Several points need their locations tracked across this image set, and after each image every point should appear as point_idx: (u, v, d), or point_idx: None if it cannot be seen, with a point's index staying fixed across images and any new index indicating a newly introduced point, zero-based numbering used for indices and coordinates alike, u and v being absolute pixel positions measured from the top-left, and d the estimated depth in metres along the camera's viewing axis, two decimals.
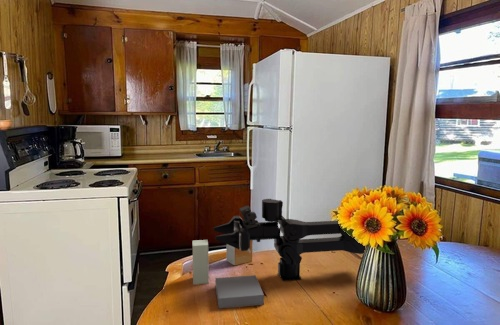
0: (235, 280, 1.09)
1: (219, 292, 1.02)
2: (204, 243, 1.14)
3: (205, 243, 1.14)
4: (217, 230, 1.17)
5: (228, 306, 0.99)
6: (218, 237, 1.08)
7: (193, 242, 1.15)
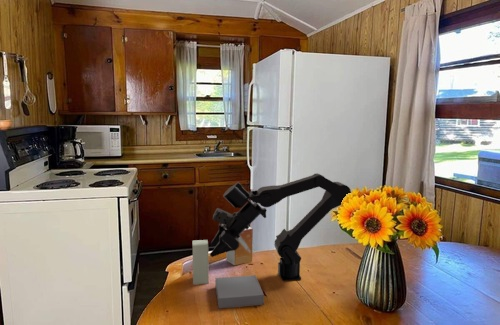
0: (235, 280, 1.09)
1: (219, 292, 1.02)
2: (204, 243, 1.14)
3: (205, 243, 1.14)
4: (214, 244, 1.20)
5: (228, 306, 0.99)
6: (212, 253, 1.10)
7: (193, 242, 1.15)
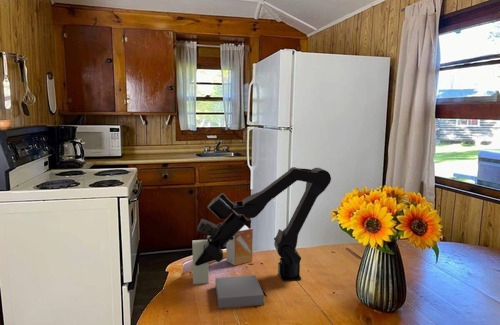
0: (235, 280, 1.09)
1: (219, 292, 1.02)
2: (204, 243, 1.14)
3: (205, 243, 1.14)
4: None
5: (228, 306, 0.99)
6: (197, 263, 1.12)
7: (193, 242, 1.15)
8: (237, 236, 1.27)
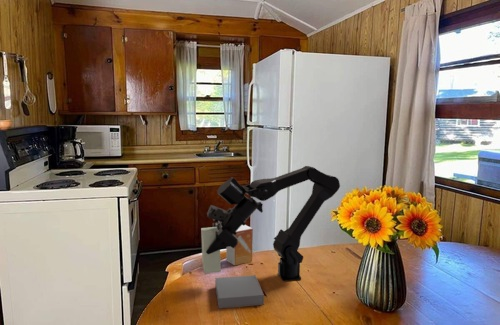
0: (235, 280, 1.09)
1: (219, 292, 1.02)
2: (214, 230, 1.09)
3: (215, 230, 1.09)
4: None
5: (228, 306, 0.99)
6: (208, 251, 1.06)
7: (202, 229, 1.09)
8: (237, 236, 1.27)
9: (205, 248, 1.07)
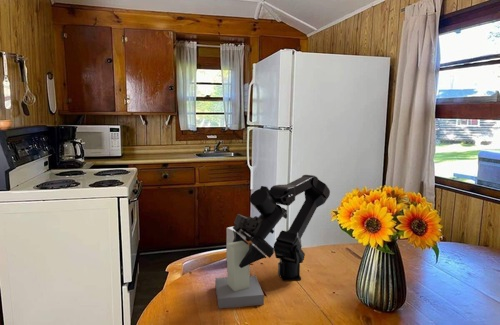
0: None
1: (219, 292, 1.02)
2: (243, 244, 1.04)
3: (244, 244, 1.04)
4: None
5: (228, 306, 0.99)
6: (242, 264, 1.00)
7: (230, 244, 1.04)
8: None
9: (235, 264, 1.02)
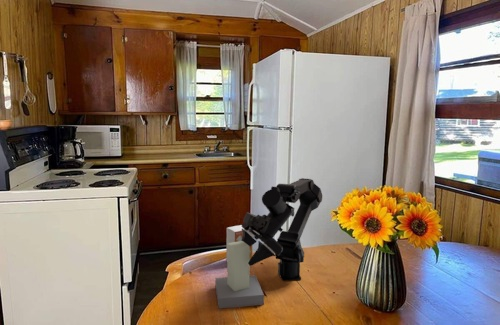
0: None
1: (219, 292, 1.02)
2: (243, 244, 1.04)
3: (244, 244, 1.04)
4: None
5: (228, 306, 0.99)
6: (251, 262, 1.01)
7: (230, 244, 1.04)
8: (237, 236, 1.27)
9: (235, 264, 1.02)
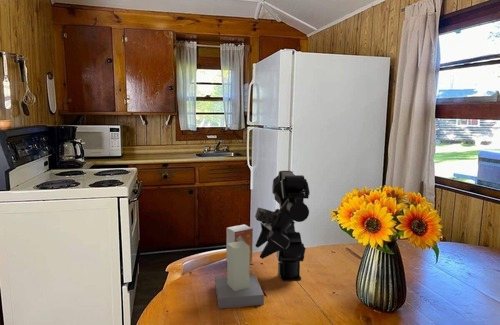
0: None
1: (219, 292, 1.02)
2: (243, 244, 1.04)
3: (244, 244, 1.04)
4: (259, 244, 1.15)
5: (228, 306, 0.99)
6: (262, 255, 1.06)
7: (230, 244, 1.04)
8: (237, 236, 1.27)
9: (235, 264, 1.02)
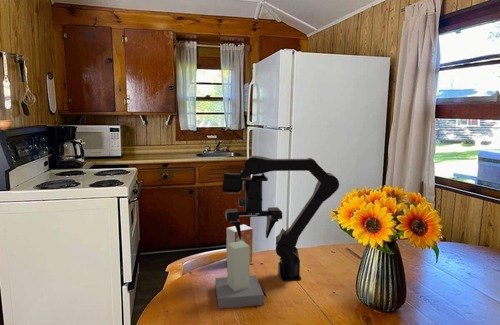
0: None
1: (219, 292, 1.02)
2: (243, 244, 1.04)
3: (244, 244, 1.04)
4: (266, 234, 1.19)
5: (228, 306, 0.99)
6: None
7: (230, 244, 1.04)
8: (237, 236, 1.27)
9: (235, 264, 1.02)
